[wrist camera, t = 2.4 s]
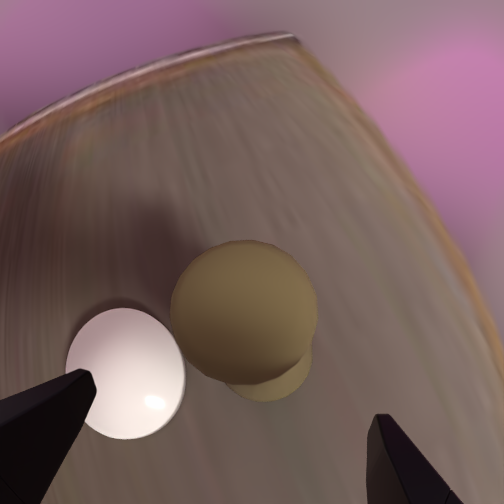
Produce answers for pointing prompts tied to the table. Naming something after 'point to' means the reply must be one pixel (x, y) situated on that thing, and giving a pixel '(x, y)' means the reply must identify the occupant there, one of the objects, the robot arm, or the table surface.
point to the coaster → (130, 372)
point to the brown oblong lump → (246, 318)
